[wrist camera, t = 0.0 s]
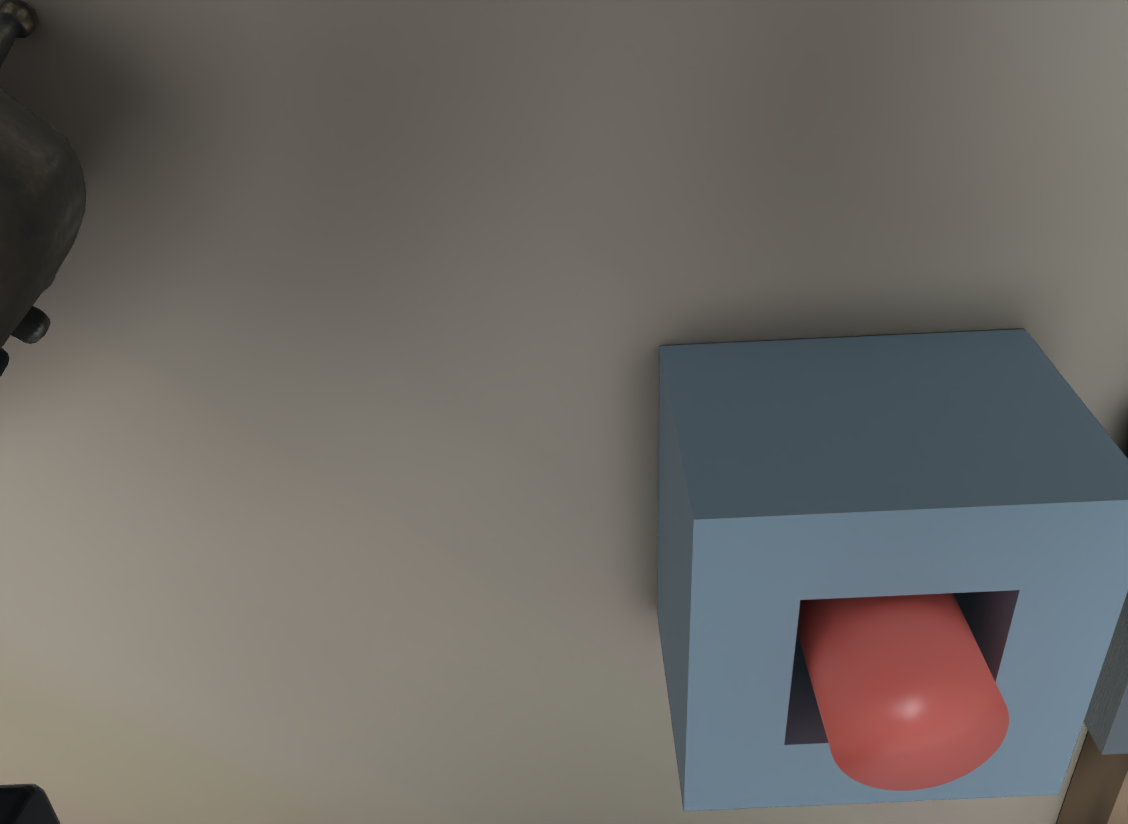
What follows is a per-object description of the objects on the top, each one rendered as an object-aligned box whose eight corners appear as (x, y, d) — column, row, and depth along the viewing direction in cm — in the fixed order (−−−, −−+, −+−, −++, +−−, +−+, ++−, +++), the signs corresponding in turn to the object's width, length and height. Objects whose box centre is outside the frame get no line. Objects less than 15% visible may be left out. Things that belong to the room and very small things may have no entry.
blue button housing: (963, 598, 28) (1058, 794, 23) (656, 612, 28) (683, 811, 23) (1025, 328, 23) (1158, 498, 18) (659, 345, 23) (693, 519, 18)
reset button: (912, 602, 24) (991, 787, 20) (773, 608, 24) (822, 794, 20) (934, 490, 23) (1025, 668, 18) (783, 497, 23) (839, 676, 18)
